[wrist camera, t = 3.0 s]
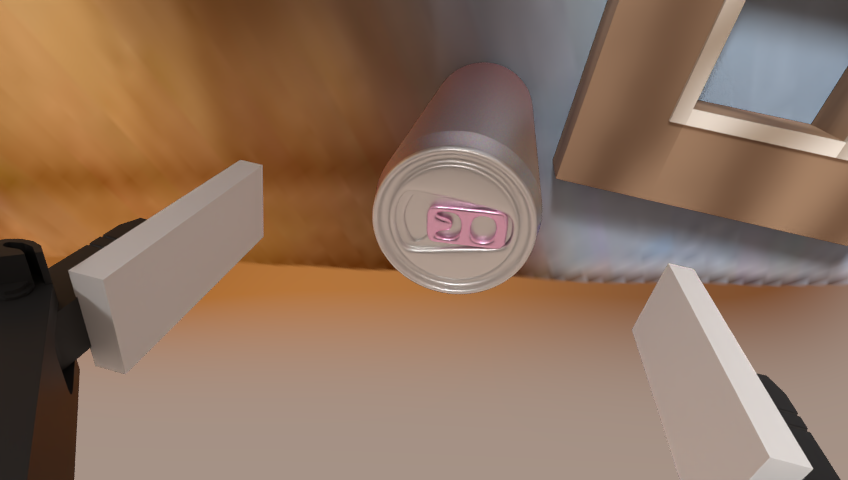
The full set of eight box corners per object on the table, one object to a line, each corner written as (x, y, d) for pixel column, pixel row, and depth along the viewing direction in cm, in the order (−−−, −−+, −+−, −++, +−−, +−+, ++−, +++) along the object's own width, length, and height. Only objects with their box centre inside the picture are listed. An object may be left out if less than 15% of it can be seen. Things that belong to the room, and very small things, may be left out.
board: (552, 160, 29) (556, 180, 26) (687, -234, 19) (715, -267, 17) (846, 227, 28) (882, 255, 25) (1143, -157, 18) (1253, -180, 15)
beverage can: (525, 162, 29) (529, 309, 16) (432, 153, 30) (369, 288, 17) (539, 63, 26) (558, 150, 13) (436, 57, 27) (362, 134, 14)
